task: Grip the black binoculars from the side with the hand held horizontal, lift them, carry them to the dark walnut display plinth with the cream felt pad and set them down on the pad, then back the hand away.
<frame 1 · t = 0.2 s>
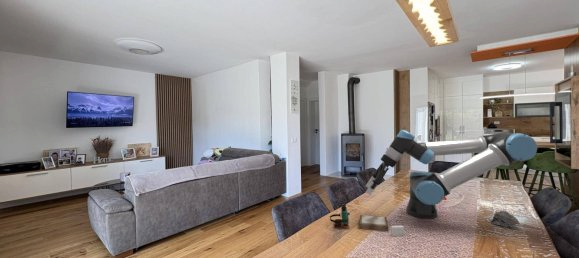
hand: (367, 190, 133), 15 cm above the table, tool tilted 35°, fingers open, 13 cm apart
plinth: (373, 224, 124), on the table
mineral specimen: (505, 226, 121), on the table
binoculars: (339, 226, 124), on the table
price sign: (397, 235, 113), on the table
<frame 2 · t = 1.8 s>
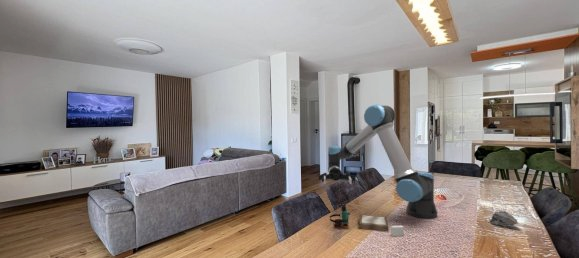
hand: (337, 181, 133), 20 cm above the table, tool horizontal, fingers open, 13 cm apart
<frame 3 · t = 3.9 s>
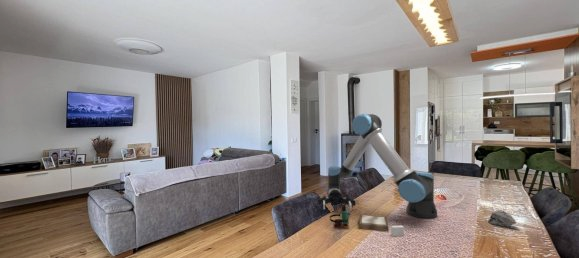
hand: (337, 207, 130), 7 cm above the table, tool horizontal, fingers open, 13 cm apart
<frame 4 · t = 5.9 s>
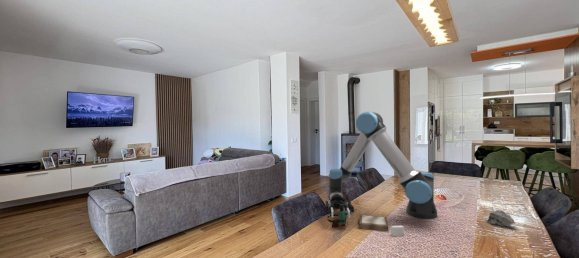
hand: (340, 215, 119), 7 cm above the table, tool horizontal, fingers open, 7 cm apart
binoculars: (337, 226, 124), on the table, touching gripper
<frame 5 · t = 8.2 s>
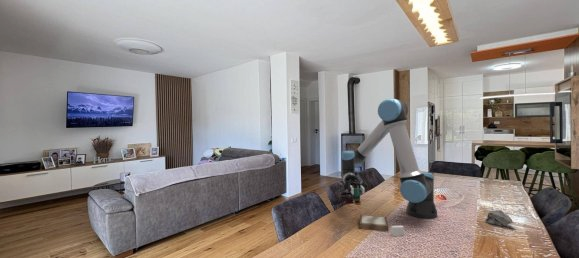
hand: (358, 191, 119), 18 cm above the table, tool horizontal, fingers closed on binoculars, 4 cm apart
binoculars: (351, 203, 124), point 11 cm above the table, touching gripper
when the fingers open (11 cm above the table, at t = 10.3 s): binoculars drops 1 cm, resting on plinth.
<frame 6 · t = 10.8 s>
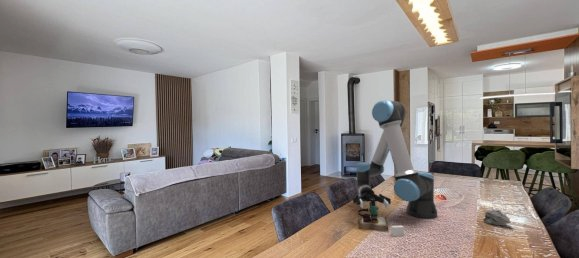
hand: (375, 205, 120), 11 cm above the table, tool horizontal, fingers open, 11 cm apart
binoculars: (368, 220, 124), point 2 cm above the table, touching plinth
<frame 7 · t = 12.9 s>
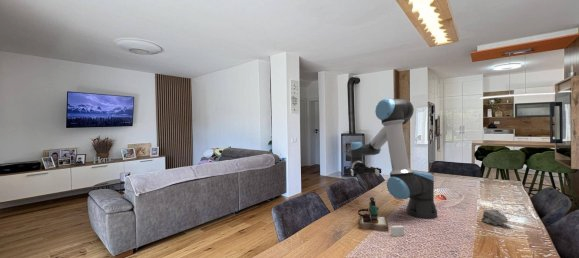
hand: (365, 173, 136), 23 cm above the table, tool horizontal, fingers open, 13 cm apart
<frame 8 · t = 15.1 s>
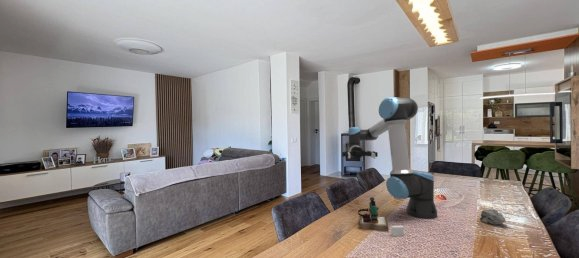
hand: (362, 156, 140), 32 cm above the table, tool horizontal, fingers open, 13 cm apart
at the end: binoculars inside the target area on the plinth (2.8 cm from its centre), point 2.4 cm above the plinth's base; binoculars tilted 0°; the gripper is holding nothing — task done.
